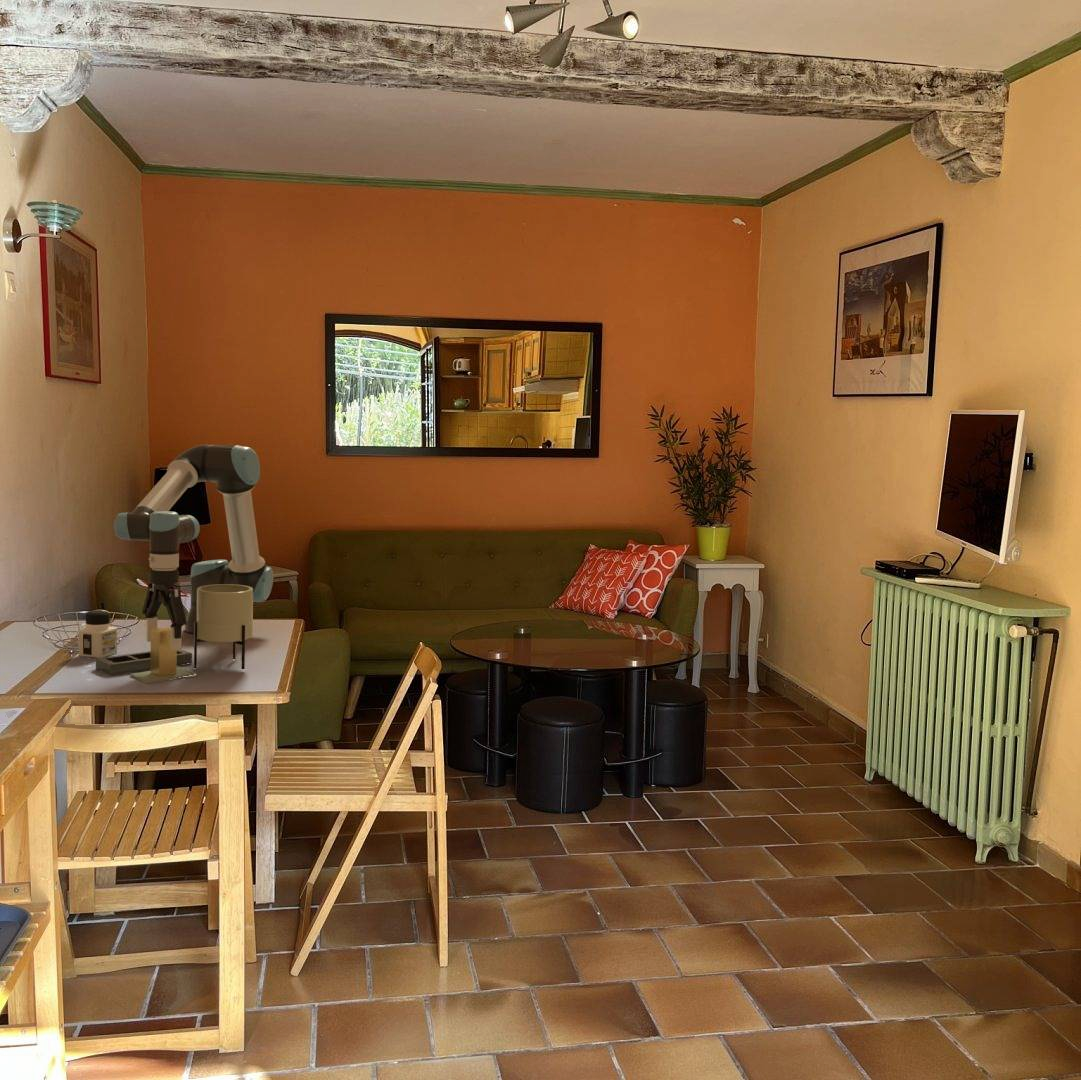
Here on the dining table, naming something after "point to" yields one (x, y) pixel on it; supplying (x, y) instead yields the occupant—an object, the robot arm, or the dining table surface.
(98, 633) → the container
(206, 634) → the planter
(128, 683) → the dining table surface
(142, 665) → the grey compartment tray
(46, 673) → the dining table surface
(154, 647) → the wooden block
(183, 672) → the mat
